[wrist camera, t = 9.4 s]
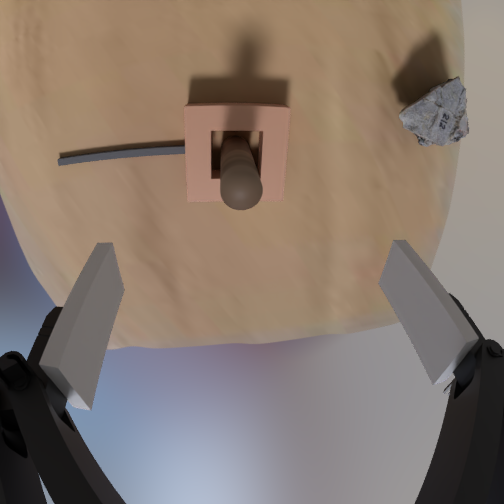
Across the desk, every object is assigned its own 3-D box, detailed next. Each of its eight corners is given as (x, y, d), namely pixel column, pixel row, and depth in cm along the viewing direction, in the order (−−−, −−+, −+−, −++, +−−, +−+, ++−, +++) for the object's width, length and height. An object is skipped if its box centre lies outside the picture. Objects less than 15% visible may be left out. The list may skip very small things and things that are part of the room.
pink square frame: (187, 103, 27) (184, 106, 25) (284, 104, 28) (290, 107, 26) (190, 191, 33) (187, 201, 30) (278, 190, 34) (282, 201, 31)
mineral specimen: (412, 117, 34) (399, 56, 27) (465, 122, 29) (461, 58, 22) (406, 163, 31) (393, 92, 24) (468, 170, 26) (470, 97, 19)
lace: (59, 158, 28) (57, 159, 28) (188, 145, 30) (188, 146, 29) (60, 164, 29) (58, 165, 28) (188, 152, 30) (188, 153, 30)
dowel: (221, 135, 30) (220, 170, 20) (249, 136, 30) (264, 171, 20) (220, 162, 31) (220, 210, 21) (248, 162, 32) (261, 210, 22)
